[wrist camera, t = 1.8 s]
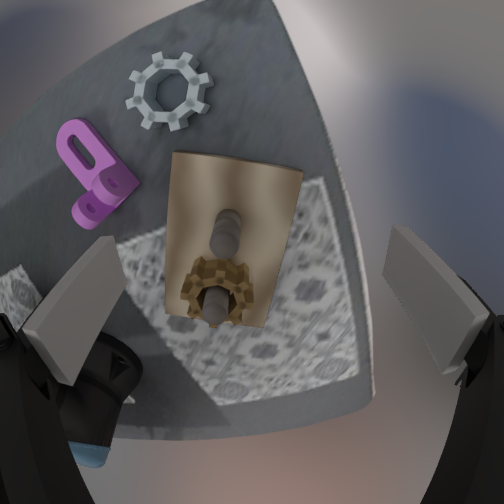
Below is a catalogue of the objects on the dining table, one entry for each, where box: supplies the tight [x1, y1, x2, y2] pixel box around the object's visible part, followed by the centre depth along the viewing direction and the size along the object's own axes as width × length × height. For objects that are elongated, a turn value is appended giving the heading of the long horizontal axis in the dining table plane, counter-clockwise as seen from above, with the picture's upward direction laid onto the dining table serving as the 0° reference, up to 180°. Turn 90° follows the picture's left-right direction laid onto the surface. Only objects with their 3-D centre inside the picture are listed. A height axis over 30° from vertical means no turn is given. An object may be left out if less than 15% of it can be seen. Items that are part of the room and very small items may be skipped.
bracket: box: [56, 119, 141, 229], centre depth 25 cm, size 13×6×7 cm, turn 37°
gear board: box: [165, 150, 304, 328], centre depth 30 cm, size 14×22×9 cm, turn 170°
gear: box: [126, 51, 214, 131], centre depth 23 cm, size 8×8×4 cm
